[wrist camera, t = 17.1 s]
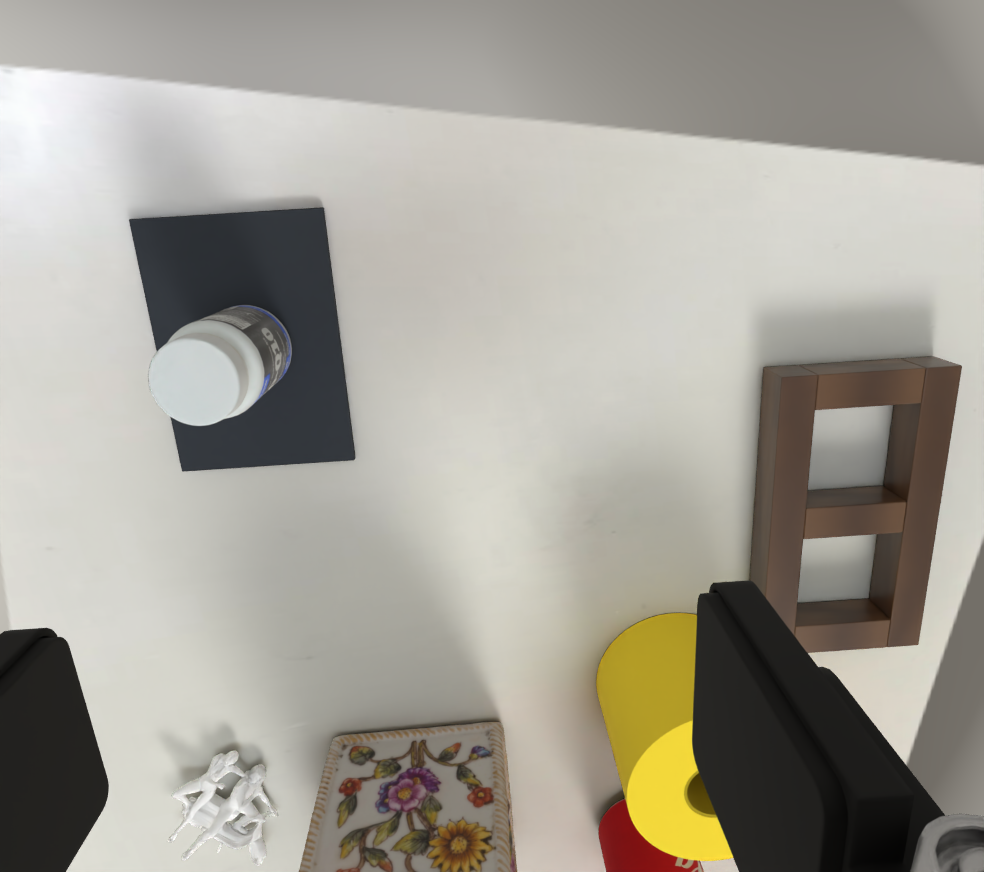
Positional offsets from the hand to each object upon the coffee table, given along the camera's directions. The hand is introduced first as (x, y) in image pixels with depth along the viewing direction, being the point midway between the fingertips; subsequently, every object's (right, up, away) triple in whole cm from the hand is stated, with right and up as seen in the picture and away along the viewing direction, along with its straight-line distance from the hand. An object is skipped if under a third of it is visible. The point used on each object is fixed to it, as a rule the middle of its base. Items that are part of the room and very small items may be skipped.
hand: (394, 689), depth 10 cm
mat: (-12, +9, +28) cm, 32 cm away
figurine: (-16, -21, +38) cm, 47 cm away
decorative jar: (-3, -21, +39) cm, 44 cm away
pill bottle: (-12, +9, +28) cm, 32 cm away
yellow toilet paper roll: (+13, -12, +37) cm, 41 cm away
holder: (+22, 0, +33) cm, 40 cm away
